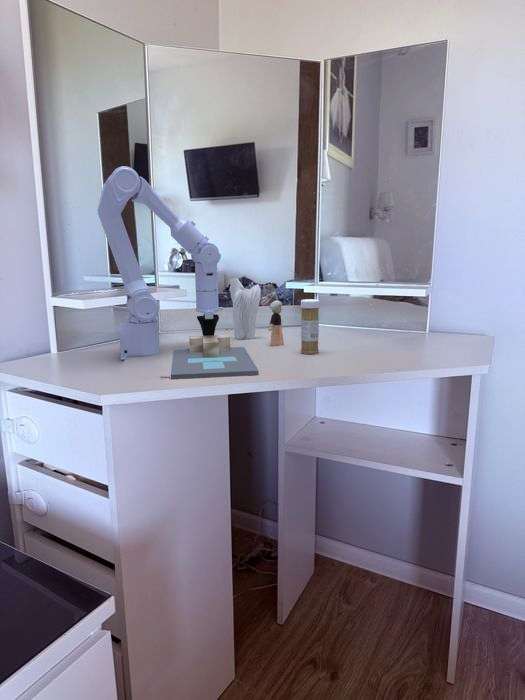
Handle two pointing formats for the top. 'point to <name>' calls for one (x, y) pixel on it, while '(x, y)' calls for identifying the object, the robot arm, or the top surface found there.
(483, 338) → the top surface
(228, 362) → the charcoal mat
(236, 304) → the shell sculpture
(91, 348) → the top surface
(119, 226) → the robot arm
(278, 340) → the grandmother figurine
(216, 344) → the maple T block
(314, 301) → the sprinkles bottle
